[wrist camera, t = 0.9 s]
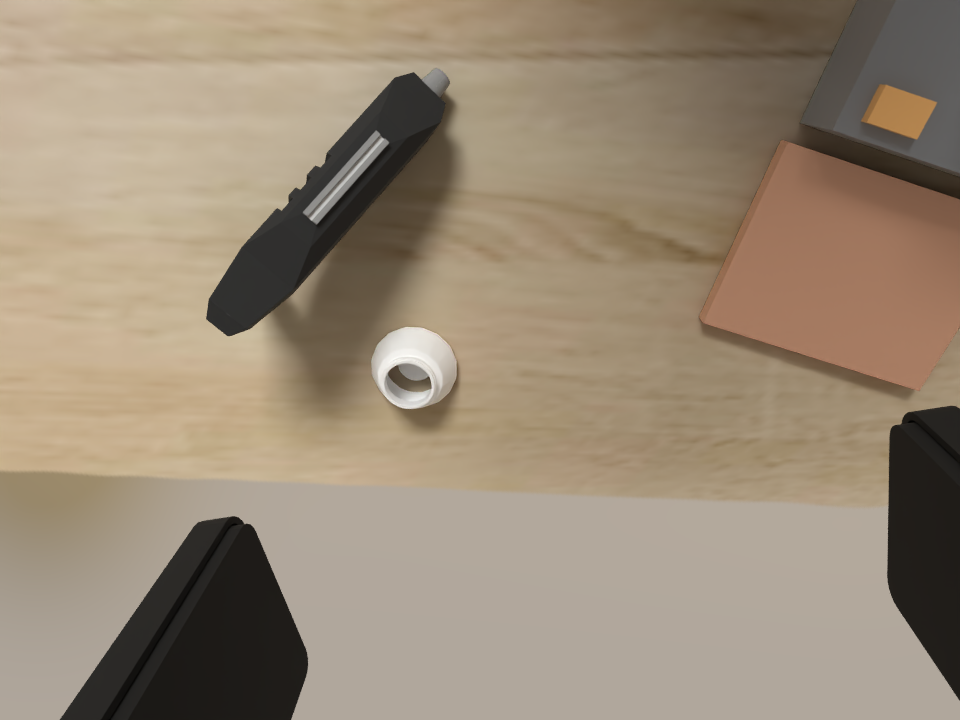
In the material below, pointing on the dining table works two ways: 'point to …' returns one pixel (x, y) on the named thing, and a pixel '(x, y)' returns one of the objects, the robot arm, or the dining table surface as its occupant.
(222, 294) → the gun
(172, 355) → the dining table surface
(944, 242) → the terracotta tile
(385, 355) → the lidless jar
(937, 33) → the control panel
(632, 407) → the dining table surface
